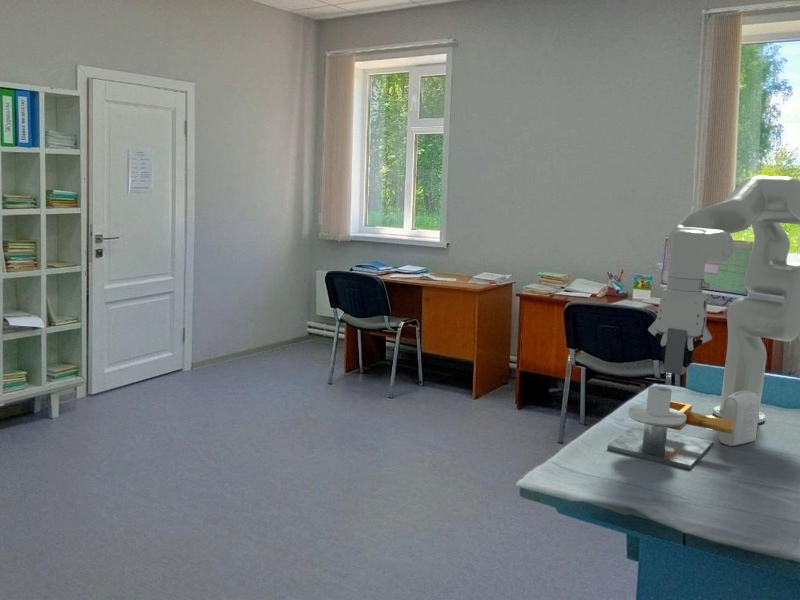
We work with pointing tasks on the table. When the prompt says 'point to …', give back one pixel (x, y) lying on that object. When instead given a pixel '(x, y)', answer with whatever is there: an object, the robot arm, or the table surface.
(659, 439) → the ringlock standard
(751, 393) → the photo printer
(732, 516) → the table surface
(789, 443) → the table surface
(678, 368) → the grey rectangular block
